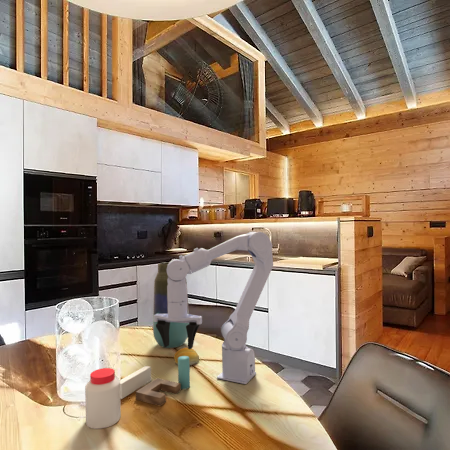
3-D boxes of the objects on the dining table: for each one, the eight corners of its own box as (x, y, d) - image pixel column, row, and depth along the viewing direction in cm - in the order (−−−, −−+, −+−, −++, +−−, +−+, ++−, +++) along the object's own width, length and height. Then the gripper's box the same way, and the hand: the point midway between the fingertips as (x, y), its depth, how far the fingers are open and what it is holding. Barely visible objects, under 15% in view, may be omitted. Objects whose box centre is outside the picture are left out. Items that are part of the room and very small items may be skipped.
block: (180, 390, 95) (180, 383, 95) (160, 406, 87) (160, 398, 87) (157, 385, 98) (157, 378, 98) (135, 399, 90) (135, 391, 90)
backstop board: (151, 380, 101) (150, 366, 101) (121, 399, 91) (121, 383, 91) (145, 379, 102) (145, 365, 102) (115, 397, 92) (115, 382, 92)
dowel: (192, 385, 98) (191, 357, 98) (185, 390, 95) (185, 361, 95) (182, 383, 99) (182, 355, 99) (176, 387, 97) (175, 359, 97)
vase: (196, 342, 134) (195, 262, 135) (173, 353, 123) (172, 265, 123) (169, 336, 142) (168, 260, 142) (145, 347, 130) (143, 264, 130)
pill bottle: (83, 431, 77) (82, 382, 77) (87, 413, 84) (87, 368, 84) (120, 425, 79) (119, 377, 79) (121, 408, 86) (120, 364, 86)
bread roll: (176, 368, 110) (176, 355, 111) (173, 358, 119) (172, 346, 119) (201, 365, 113) (201, 352, 113) (196, 355, 121) (196, 344, 121)
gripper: (205, 298, 103) (206, 344, 103) (161, 297, 107) (162, 340, 107) (196, 304, 96) (197, 352, 96) (150, 302, 100) (151, 348, 100)
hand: (178, 347), depth 101 cm, fingers open, 7 cm apart
